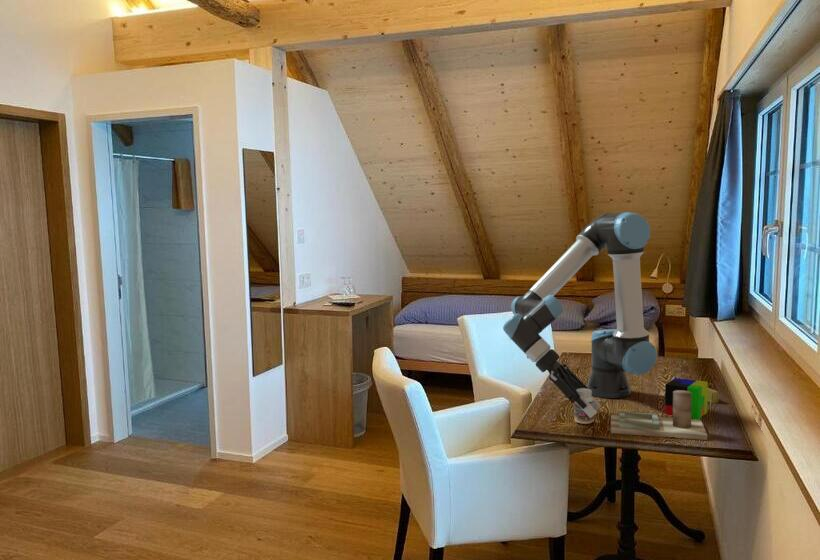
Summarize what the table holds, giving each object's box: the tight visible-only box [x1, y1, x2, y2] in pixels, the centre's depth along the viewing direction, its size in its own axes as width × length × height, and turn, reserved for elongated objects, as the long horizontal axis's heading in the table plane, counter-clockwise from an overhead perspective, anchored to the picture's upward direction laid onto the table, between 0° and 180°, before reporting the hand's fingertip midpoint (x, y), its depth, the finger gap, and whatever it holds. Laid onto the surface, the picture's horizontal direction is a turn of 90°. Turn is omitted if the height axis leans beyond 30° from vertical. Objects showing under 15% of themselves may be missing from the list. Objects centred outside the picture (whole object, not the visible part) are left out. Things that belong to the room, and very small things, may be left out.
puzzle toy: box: [664, 377, 709, 420], centre depth 205 cm, size 10×10×10 cm
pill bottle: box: [573, 388, 594, 425], centre depth 198 cm, size 6×6×10 cm
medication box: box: [707, 387, 720, 404], centre depth 222 cm, size 12×3×4 cm, turn 13°
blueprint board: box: [610, 390, 708, 441], centre depth 191 cm, size 14×26×12 cm, turn 72°
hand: (595, 412), depth 197 cm, fingers closed on pill bottle, 6 cm apart
